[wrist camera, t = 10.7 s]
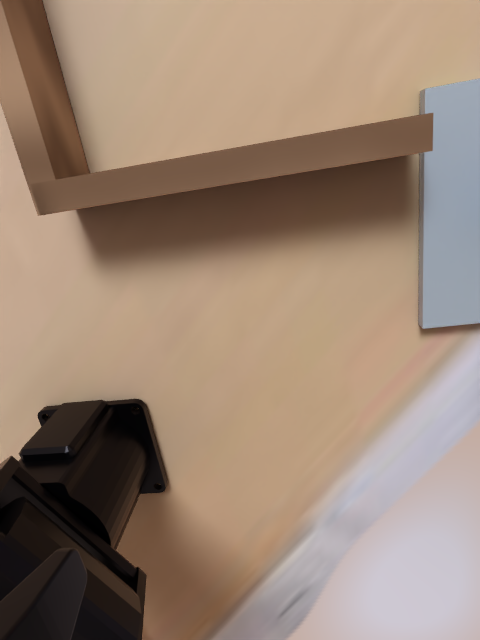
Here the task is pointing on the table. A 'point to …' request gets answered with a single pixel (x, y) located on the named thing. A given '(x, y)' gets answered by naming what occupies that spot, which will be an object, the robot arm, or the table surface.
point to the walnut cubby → (157, 177)
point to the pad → (450, 208)
